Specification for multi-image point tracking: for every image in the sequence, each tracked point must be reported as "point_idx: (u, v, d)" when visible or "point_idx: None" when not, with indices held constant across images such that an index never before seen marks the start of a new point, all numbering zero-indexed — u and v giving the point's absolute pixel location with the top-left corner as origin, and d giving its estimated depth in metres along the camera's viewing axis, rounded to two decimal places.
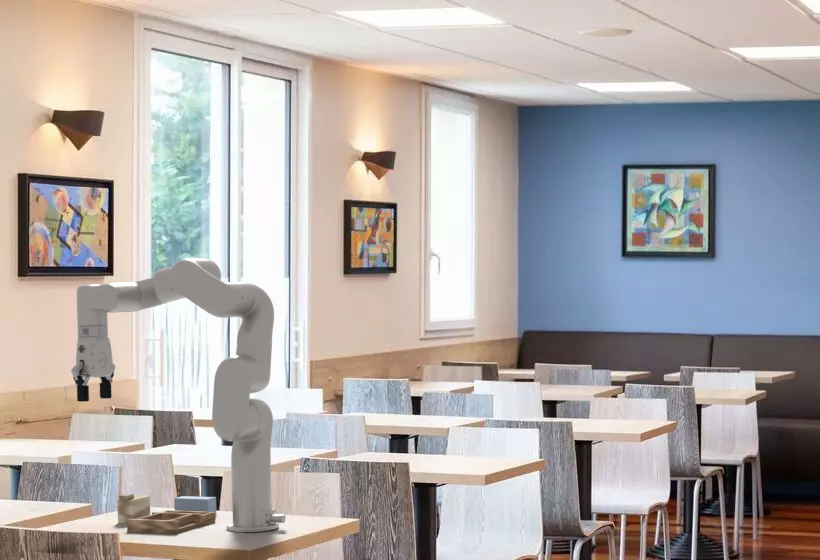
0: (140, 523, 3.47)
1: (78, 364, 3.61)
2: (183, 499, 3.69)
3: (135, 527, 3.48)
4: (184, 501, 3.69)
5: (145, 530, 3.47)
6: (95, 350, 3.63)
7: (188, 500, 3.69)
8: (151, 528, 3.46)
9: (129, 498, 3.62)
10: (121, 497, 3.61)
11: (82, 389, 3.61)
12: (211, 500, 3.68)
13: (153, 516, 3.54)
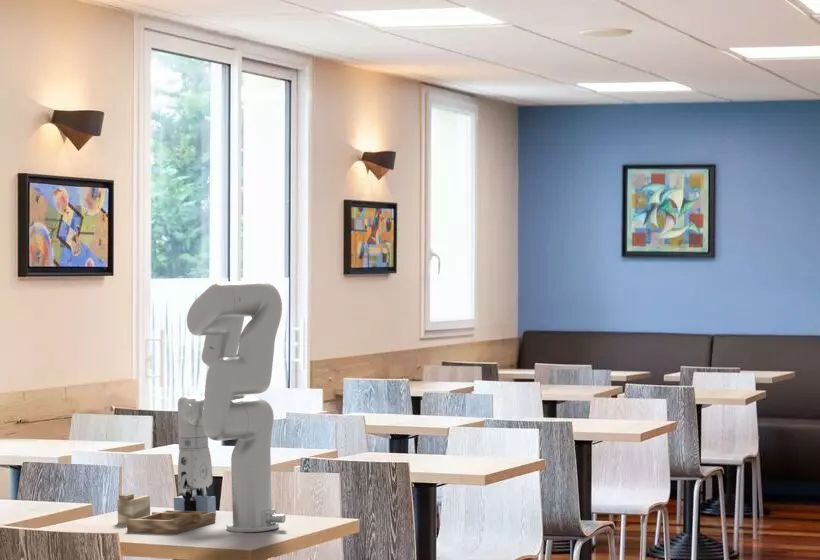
0: (140, 523, 3.47)
1: (182, 481, 3.65)
2: None
3: (135, 527, 3.48)
4: None
5: (145, 530, 3.47)
6: (197, 462, 3.67)
7: None
8: (151, 528, 3.46)
9: (129, 498, 3.62)
10: (121, 497, 3.62)
11: (190, 504, 3.67)
12: (211, 499, 3.68)
13: (153, 516, 3.54)
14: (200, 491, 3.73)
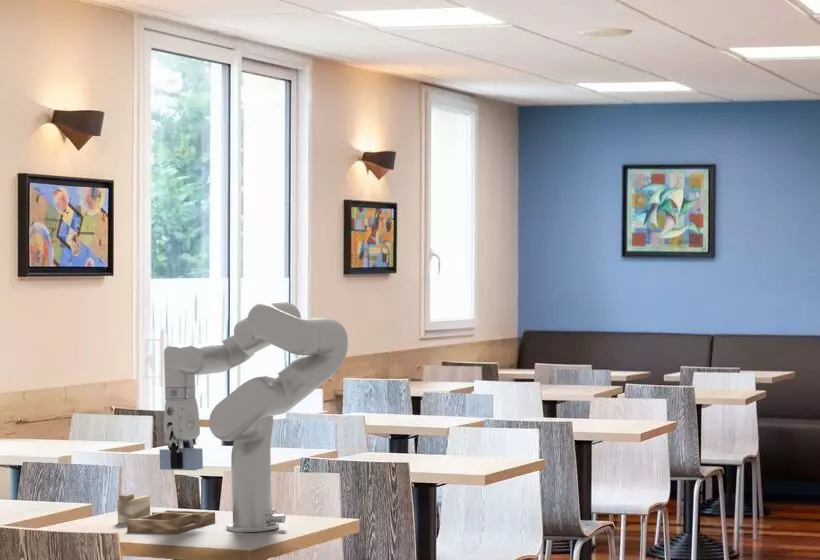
0: (140, 523, 3.47)
1: (168, 432, 3.54)
2: (168, 450, 3.59)
3: (135, 527, 3.48)
4: None
5: (145, 530, 3.47)
6: (183, 413, 3.56)
7: None
8: (151, 528, 3.46)
9: (129, 498, 3.62)
10: (121, 497, 3.61)
11: (176, 456, 3.56)
12: (197, 451, 3.57)
13: (153, 516, 3.54)
14: (187, 443, 3.62)
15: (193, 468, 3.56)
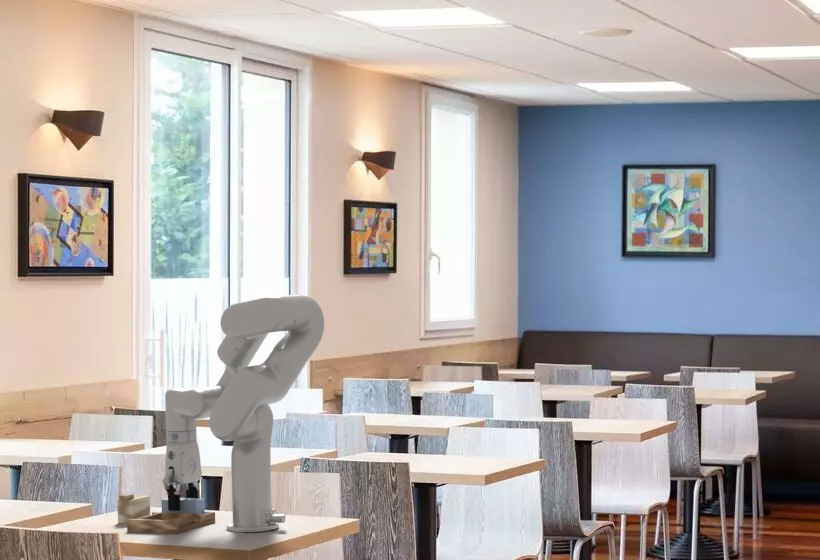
0: (140, 523, 3.47)
1: (168, 473, 3.53)
2: None
3: (135, 527, 3.48)
4: None
5: (145, 530, 3.47)
6: (185, 457, 3.56)
7: None
8: (151, 528, 3.46)
9: (129, 498, 3.62)
10: (121, 497, 3.61)
11: (173, 498, 3.54)
12: (199, 502, 3.57)
13: (153, 516, 3.54)
14: (192, 483, 3.64)
15: None
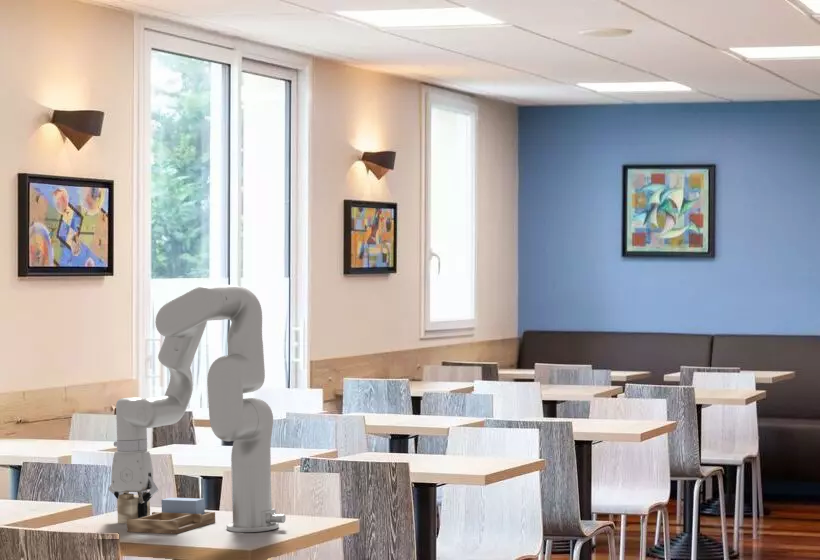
0: (140, 523, 3.47)
1: None
2: (170, 501, 3.58)
3: (135, 527, 3.48)
4: (171, 503, 3.58)
5: (145, 530, 3.47)
6: (117, 465, 3.64)
7: (175, 502, 3.58)
8: (151, 528, 3.46)
9: (129, 498, 3.62)
10: (121, 496, 3.61)
11: None
12: (199, 502, 3.57)
13: (153, 516, 3.54)
14: None
15: None
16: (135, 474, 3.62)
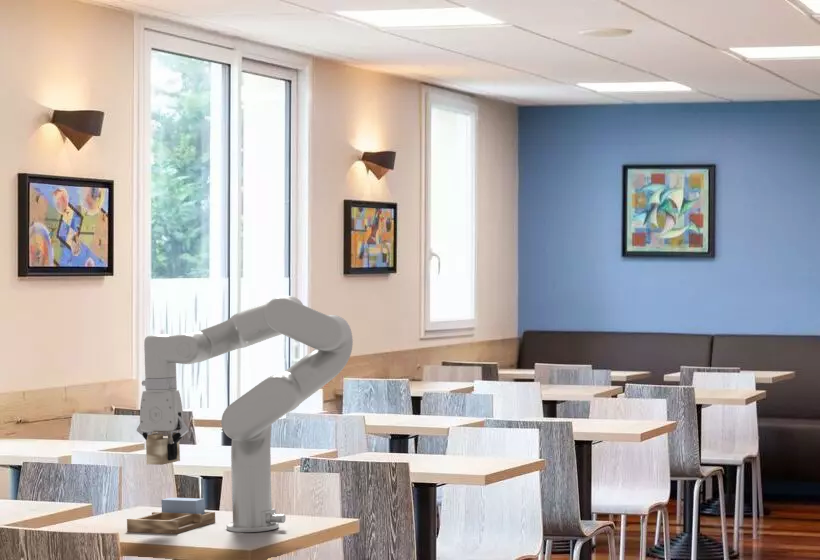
0: (140, 523, 3.47)
1: None
2: (170, 501, 3.58)
3: (135, 527, 3.48)
4: (171, 503, 3.58)
5: (145, 530, 3.47)
6: (145, 404, 3.50)
7: (175, 502, 3.58)
8: (151, 528, 3.46)
9: (158, 438, 3.48)
10: (150, 436, 3.47)
11: None
12: (199, 502, 3.57)
13: (153, 516, 3.54)
14: None
15: None
16: (164, 413, 3.48)
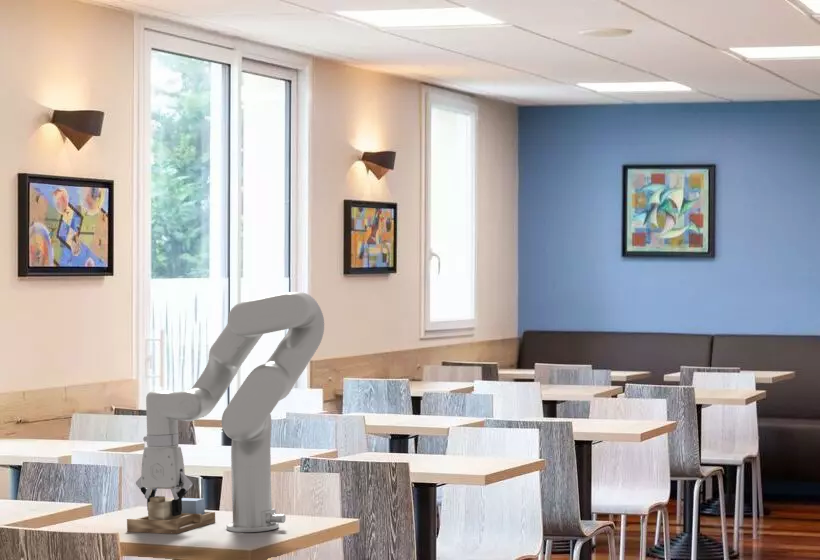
0: (140, 523, 3.47)
1: None
2: None
3: (135, 527, 3.48)
4: None
5: (145, 530, 3.47)
6: (147, 460, 3.50)
7: None
8: (151, 528, 3.46)
9: (160, 501, 3.48)
10: (152, 499, 3.47)
11: None
12: (199, 502, 3.57)
13: None
14: None
15: None
16: (166, 470, 3.48)
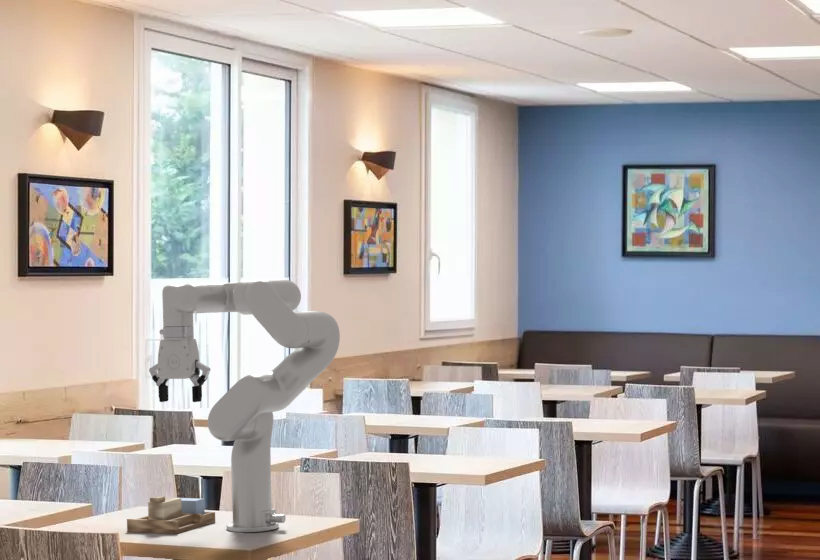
0: (140, 523, 3.47)
1: None
2: None
3: (135, 527, 3.48)
4: None
5: (145, 530, 3.47)
6: (163, 352, 3.60)
7: None
8: (151, 528, 3.46)
9: (160, 501, 3.48)
10: (152, 499, 3.47)
11: None
12: (199, 502, 3.57)
13: None
14: None
15: None
16: (182, 361, 3.58)
